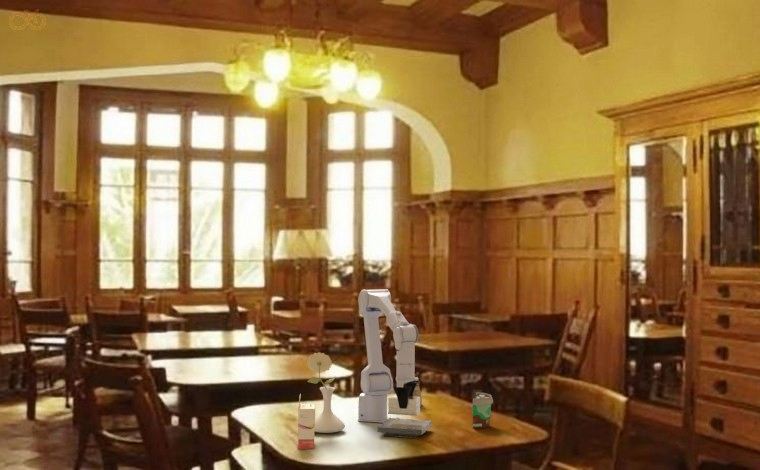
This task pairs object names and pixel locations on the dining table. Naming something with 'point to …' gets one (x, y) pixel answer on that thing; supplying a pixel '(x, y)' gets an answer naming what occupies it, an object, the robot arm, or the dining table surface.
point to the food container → (481, 410)
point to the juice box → (306, 426)
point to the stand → (404, 427)
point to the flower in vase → (324, 395)
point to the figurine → (417, 389)
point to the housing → (411, 409)
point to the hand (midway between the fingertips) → (405, 406)
